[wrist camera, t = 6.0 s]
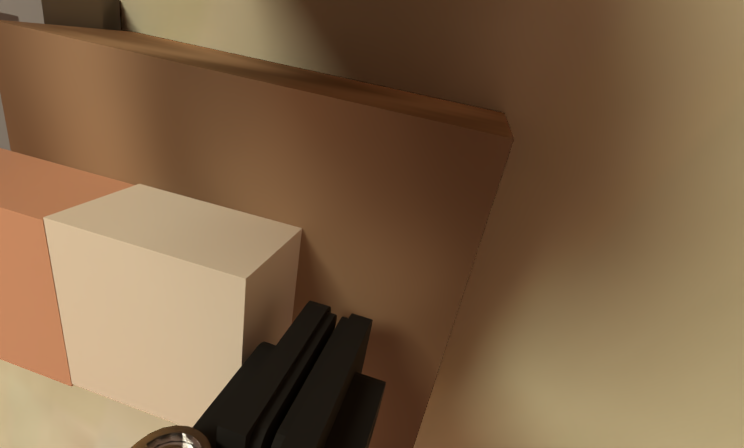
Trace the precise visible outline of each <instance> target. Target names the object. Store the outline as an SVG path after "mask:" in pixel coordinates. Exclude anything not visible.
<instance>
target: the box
mask: <svg viewBox="0 0 744 448" xmlns="http://www.w3.org/2000/svg"><path fill="white" fill-rule="evenodd" d="M0 20H7V21H18V22H29V23H40V24H52V25H63V26H74V27H86V28H97V29H108V30H120V31H121V18H120V3H119V0H0ZM0 148H2V149H6V150H10V151H11V149H10V143H9V138H8V133H7V127H6V122H5V116H4V111H3V105H2V100H1V94H0Z"/></svg>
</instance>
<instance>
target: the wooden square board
mask: <svg viewBox="0 0 744 448" xmlns="http://www.w3.org/2000/svg"><path fill="white" fill-rule="evenodd" d="M0 94H1V100H2V105H3V111H4V116H5V122H6V127H7V133H8V138H9V143H10V149H11V151H13V152H17V153H20V154H24V155H28V156H31V157H35V158H39V159H42V160H46V161H50V162H53V163H57V164H60V165H64V166H68V167H71V168H75V169H79V170H82V171H86V172H90V173H93V174H97V175H101V176H104V177H108V178H111V179H115V180H119V181H122V182H126V183H130V184H133V185H137V184H142V185H146V186H149V187H153V188H157V189H160V190H164V191H168V192H171V193H175V194H179V195H182V196H186V197H190V198H193V199H197V200H201V201H204V202H208V203H212V204H215V205H219V206H223V207H226V208H230V209H233V210H237V211H241V212H244V213H248V214H252V215H255V216H259V217H263V218H266V219H270V220H274V221H277V222H281V223H285V224H288V225H292V226H296V227H299V228H302V234H301V243H300V252H299V261H298V270H297V280H296V289H295V298H294V307H293V316H292V323H293V322H294V320H295V319H296V317H297V316H298V315H299V313H300V312H301V311H302V309H303V308H304V307H305V305H306V304H307V303H308V302H309V301H314V302H317V303H320V304H324V305H327V306H330V307H331V313H333V314H336V315H337V319H336V325H335V328H336V326H337V324H338V322H339V320H340V319H341V317H342V316H343V317H346V318H349V317H350V315H351V314H352V313H353V314H356V315H359V316H363V317H366V318H369V319H372V320H373V321H372V327H371V332H370V336H369V341H368V346H367V350H366V355H365V359H364V364H363V369H362V373H361V374H364V375H367V376H370V377H373V378H376V379H379V380H382V381H385V382H386V386H385V390H384V394H383V398H382V401H381V405H380V409H379V413H378V417H377V420H376V424H375V427H374V431H373V434H372V438H371V441H370V444H369V448H413V447H414V444H415V441H416V438H417V435H418V431H419V428H420V425H421V422H422V419H423V416H424V413H425V410H426V407H427V404H428V401H429V398H430V395H431V392H432V389H433V386H434V382H435V379H436V376H437V373H438V370H439V367H440V364H441V361H442V358H443V355H444V352H445V349H446V346H447V343H448V340H449V337H450V333H451V330H452V327H453V324H454V321H455V318H456V315H457V312H458V309H459V306H460V303H461V300H462V297H463V294H464V291H465V287H466V284H467V281H468V278H469V275H470V272H471V269H472V266H473V263H474V260H475V257H476V254H477V251H478V248H479V245H480V242H481V238H482V235H483V232H484V229H485V226H486V223H487V220H488V217H489V214H490V211H491V208H492V205H493V202H494V199H495V196H496V193H497V189H498V186H499V183H500V180H501V177H502V174H503V171H504V168H505V165H506V162H507V159H508V156H509V153H510V150H511V147H512V144H513V140H514V138H513V135H512V132H511V130H510V127H509V124H508V121H507V119H506V116H505V113H502V112H498V111H493V110H489V109H484V108H480V107H475V106H470V105H466V104H461V103H457V102H452V101H447V100H443V99H438V98H434V97H429V96H425V95H420V94H415V93H411V92H406V91H402V90H397V89H393V88H388V87H383V86H379V85H374V84H370V83H365V82H361V81H356V80H351V79H347V78H342V77H338V76H333V75H329V74H324V73H319V72H315V71H310V70H306V69H301V68H297V67H292V66H287V65H283V64H278V63H274V62H269V61H265V60H260V59H255V58H251V57H246V56H242V55H237V54H232V53H228V52H223V51H219V50H214V49H210V48H205V47H200V46H196V45H191V44H187V43H182V42H178V41H173V40H168V39H164V38H159V37H155V36H150V35H146V34H141V33H136V32H131V31H120V30H108V29H97V28H86V27H74V26H63V25H52V24H40V23H29V22H18V21H7V20H0Z"/></svg>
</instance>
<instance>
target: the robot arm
mask: <svg viewBox="0 0 744 448" xmlns="http://www.w3.org/2000/svg"><path fill="white" fill-rule="evenodd" d="M336 319H337V315H336V314H333V313H331V307H330V306H327V305H324V304H320V303H317V302H314V301H309V302H308V303H307V304H306V305H305V307H304V308H303V309H302V311H301V312H300V313H299V315H298V316H297V317H296V319H295V320H294V322H293V323H292V324H291V326H290V327H289V328H288V330H287V331H286V332H285V334H284V335H283V336H282V338H281V339H280V340H279V342H278V343H277V345H273V344H270V343H267V342H262V343H260V344H259V345H258V346H257V347H256V349H255V350H254V351H253V352H252V354H251V355H250V356H249V357H248V359H247V360H246V361H245V362H244V364H243V365H242V366H241V367H240V369H239V370H238V371H237V372H236V374H235V375H234V376H233V377H232V379H231V380H230V381H229V382H228V383H227V385H226V386H225V387H224V388H223V390H222V391H221V392H220V393H219V395H218V396H217V397H216V398H215V400H214V401H213V402H212V403H211V405H210V406H209V407H208V408H207V410H206V411H205V412H204V413H203V415H202V416H201V417H200V418H199V420H198V421H197V422H196V423H195V425H194V426H193V427H189V426H177V425H176V426H170V427H165V428H161V429H159V430H157V431H154V432H152V433H150V434H148V435H147V436H145V437H144V438H142V439H141V440H140V441H138V442H137V443H136V444H135V445H134V446H132V447H131V448H369V444H370V441H371V438H372V434H373V431H374V427H375V424H376V420H377V417H378V413H379V409H380V405H381V401H382V398H383V394H384V390H385V386H386V382H385V381H382V380H379V379H376V378H373V377H370V376H367V375H364V374H361V373H362V369H363V364H364V359H365V355H366V350H367V346H368V341H369V336H370V332H371V327H372V321H373V320H372V319H369V318H366V317H363V316H359V315H356V314H353V313H352V314H351V315H350V317H349V318H346V317H343V316H342V317H341V319H340V320H339V322H338V324H337V326H336V328H335V325H336Z"/></svg>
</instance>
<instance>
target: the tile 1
mask: <svg viewBox="0 0 744 448" xmlns="http://www.w3.org/2000/svg"><path fill="white" fill-rule="evenodd" d="M131 186H134V185H133V184H130V183H126V182H122V181H119V180H115V179H111V178H108V177H104V176H101V175H97V174H93V173H90V172H86V171H82V170H79V169H75V168H71V167H68V166H64V165H60V164H57V163H53V162H50V161H46V160H42V159H39V158H35V157H31V156H28V155H24V154H20V153H17V152H13V151H10V150H6V149H2V148H0V359H2V360H4V361H7V362H9V363H12V364H15V365H17V366H20V367H22V368H25V369H28V370H30V371H33V372H36V373H38V374H41V375H43V376H46V377H49V378H51V379H54V380H56V381H59V382H62V383H64V384H67V385H69V386H73V384H72V381H71V375H70V369H69V364H68V358H67V352H66V346H65V341H64V335H63V329H62V323H61V317H60V312H59V306H58V300H57V294H56V289H55V283H54V277H53V271H52V266H51V260H50V254H49V248H48V243H47V237H46V231H45V225H44V219H43V217H45V216H48V215H51V214H54V213H57V212H60V211H63V210H65V209H68V208H71V207H74V206H77V205H80V204H83V203H86V202H88V201H91V200H94V199H97V198H100V197H103V196H106V195H108V194H111V193H114V192H117V191H120V190H123V189H126V188H129V187H131Z"/></svg>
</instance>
